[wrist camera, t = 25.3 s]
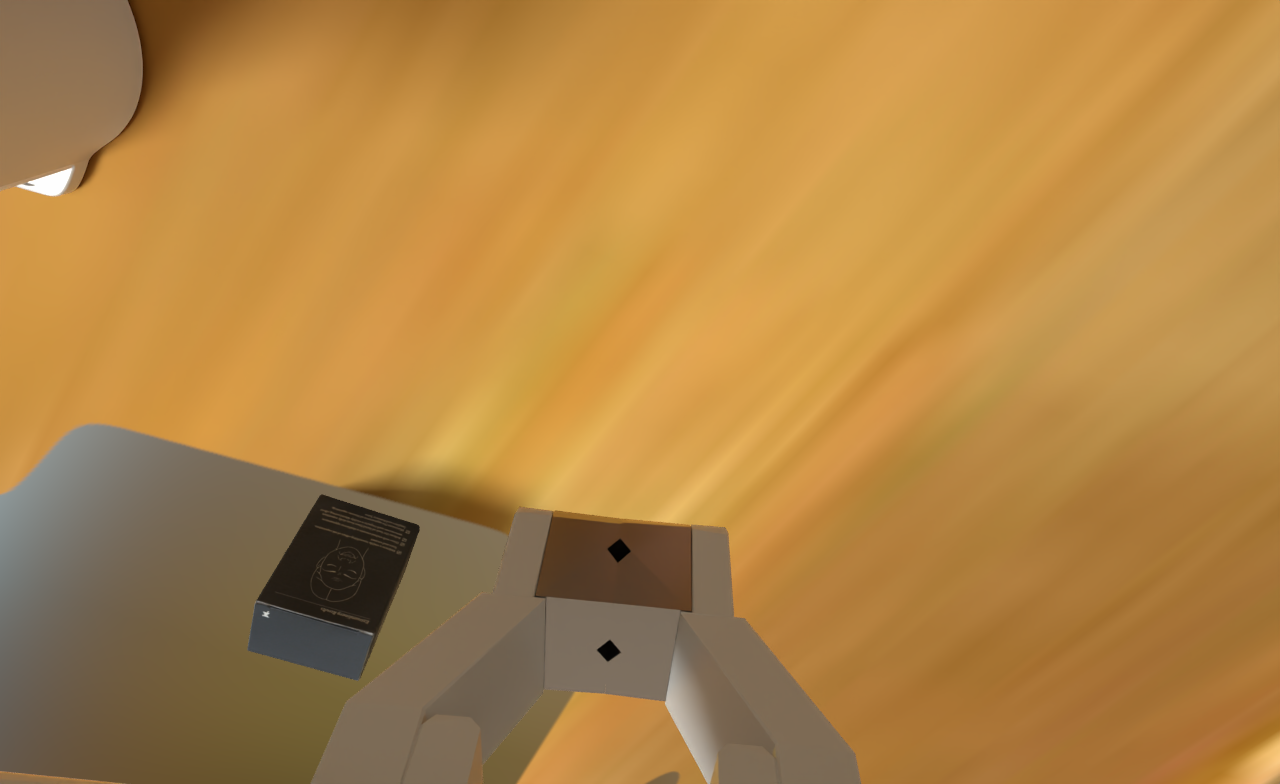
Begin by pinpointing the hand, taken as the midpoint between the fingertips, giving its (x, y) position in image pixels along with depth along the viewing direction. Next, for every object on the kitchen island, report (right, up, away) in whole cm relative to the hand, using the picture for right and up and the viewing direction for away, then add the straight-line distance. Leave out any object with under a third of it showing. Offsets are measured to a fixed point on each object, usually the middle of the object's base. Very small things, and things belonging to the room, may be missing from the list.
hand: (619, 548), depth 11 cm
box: (-21, -9, +48) cm, 53 cm away
